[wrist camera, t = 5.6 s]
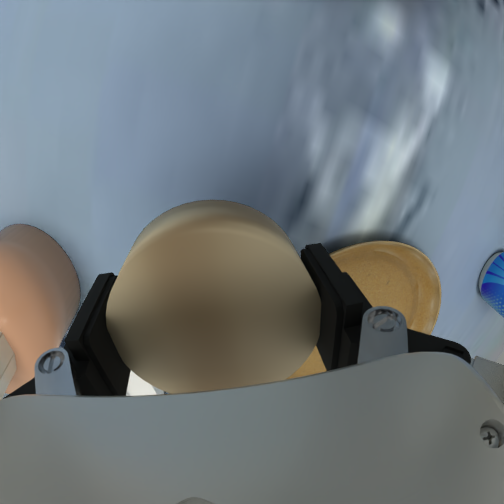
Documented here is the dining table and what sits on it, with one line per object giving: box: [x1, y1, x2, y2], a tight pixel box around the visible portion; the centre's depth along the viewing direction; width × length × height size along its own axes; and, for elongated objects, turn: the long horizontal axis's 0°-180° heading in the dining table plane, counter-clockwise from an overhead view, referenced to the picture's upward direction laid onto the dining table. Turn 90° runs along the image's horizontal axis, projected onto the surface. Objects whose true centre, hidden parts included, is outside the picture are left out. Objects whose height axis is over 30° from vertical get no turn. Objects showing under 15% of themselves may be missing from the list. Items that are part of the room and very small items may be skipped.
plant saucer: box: [287, 241, 441, 379], centre depth 33 cm, size 24×24×3 cm
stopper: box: [106, 200, 321, 394], centre depth 12 cm, size 7×7×6 cm
